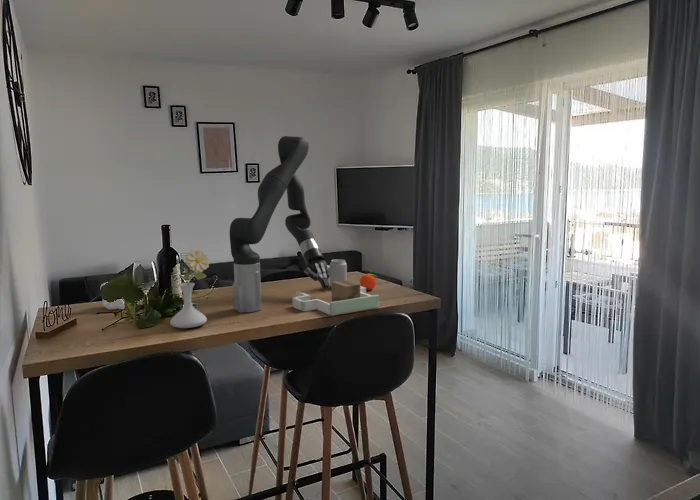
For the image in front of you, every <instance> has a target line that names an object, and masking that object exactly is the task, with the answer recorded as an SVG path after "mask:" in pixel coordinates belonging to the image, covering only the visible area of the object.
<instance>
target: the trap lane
mask: <svg viewBox="0 0 700 500" xmlns="http://www.w3.org/2000/svg"><path fill="white" fill-rule="evenodd" d="M295 293H296V296H293V297H291V307H292V308H294V309H296V310H298V309H299V311H300V310H301V311H300V312H308V311H314V310H318V311H320V312H322V313H325V314H327V315H329V316H338V315H342V314H343V315H344V314H348V313H354V312H355V313H356V312H360V311H366V310H371V309H377V308H380V295H379V294H373V295H371V294H369V293H367V290H366V288H365V287H362V286H361V285H360V298H354V299H347V300H341V301H335V302H332V301H331V302H330V301H329V302H328V301H325V300H322V299H320V298H315V299H314V298H313V299H311V295H310V294H308V293H304V292H302V291H300V290H297V291H296V292H295Z"/></svg>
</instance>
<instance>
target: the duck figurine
mask: <svg viewBox="0 0 700 500" xmlns="http://www.w3.org/2000/svg"><path fill="white" fill-rule="evenodd" d="M108 282H109V281H107V282H106V281H105V282H104V283H102V284H101V285H100V289H101V287H102V286H103V285H105V284H106V283H108ZM123 300H124V299H123ZM123 300H122V299H119V300H116V301H114V302H111V303H109V302H107V301H106V300H104V299H103V298H102V304H103V307H104V308H105V309H106V310H109V311H112V310H124V309H125V305H126V304H125V305H124V303H125V300H124V301H123Z"/></svg>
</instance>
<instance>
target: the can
mask: <svg viewBox="0 0 700 500" xmlns="http://www.w3.org/2000/svg"><path fill="white" fill-rule="evenodd" d="M347 264H348V263H347V262H346V260H345V259H342V258H340V259H337V258H336V259H331V262H330V263H329V266H331V265H332V266H333V269H332V272H331V275H330V277H329V287H331V288H332V282H335V281H342V280H347V281H348V272H347V271H348V265H347Z"/></svg>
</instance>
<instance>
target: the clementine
mask: <svg viewBox="0 0 700 500" xmlns="http://www.w3.org/2000/svg"><path fill="white" fill-rule="evenodd" d="M376 277H377V279H378V280H379V278H378V276H377V275H376V274H373V273H365V274H363V275H361V277H360V279H359V283H360V286H362V287H365V288H366V291H370V290H373V289H374V288H375V287H376V285H377V279H376Z"/></svg>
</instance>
